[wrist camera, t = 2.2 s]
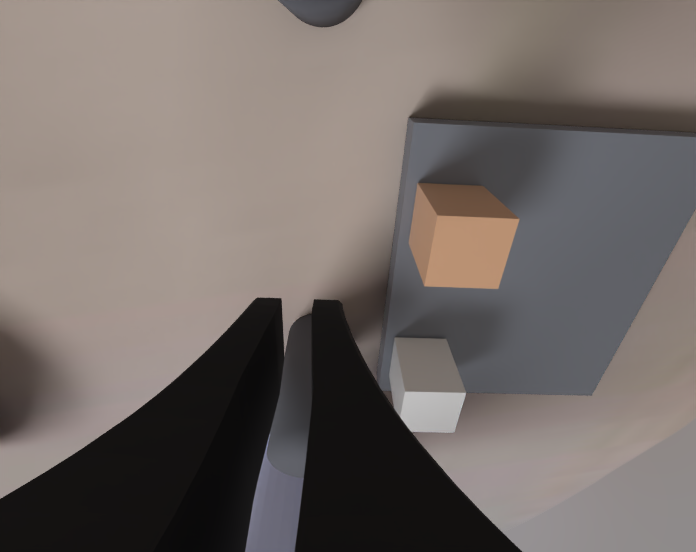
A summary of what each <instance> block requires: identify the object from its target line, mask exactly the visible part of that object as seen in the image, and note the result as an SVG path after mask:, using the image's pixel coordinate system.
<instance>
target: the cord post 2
mask: <svg viewBox="0 0 696 552" xmlns="http://www.w3.org/2000/svg"><path fill="white" fill-rule="evenodd" d="M278 1H280V2H281V3H282V4H283V5H284V6H285V7H286V8H287V9H288V10H289V11H290V12H292V13H293V14H294V15H295V16H296V17H297V18H298V19H300V20H301V21H303V22H305V23H307V24H309V25H312V26H316V27H330V26H334V25H337V24H339V23H341V22H343V21H345V20H346V19H347V18H349V17H350V16H351V15H352V14H353V13H354V11H355V10H356V9H357V8H358V6H359V4H360V3H361V1H362V0H278Z"/></svg>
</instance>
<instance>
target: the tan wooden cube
mask: <svg viewBox="0 0 696 552" xmlns="http://www.w3.org/2000/svg"><path fill="white" fill-rule="evenodd" d="M518 223H519V218H518V217H517V216H516V215H515V214H514V213H512V212H511V211H510V210H509V209H508V208H507V207H506V206H505V205H504V204H503V203H501V202H500V201H499V200H498V199H497V198H496V197H495V196H494V195H493V194H491V193H490V192H489V191H488V190H487V189H486V188H485V187H484V186H476V185H454V184H432V183H417V190H416V196H415V203H414V210H413V217H412V223H411V230H410V237H409V245H410V248H411V251H412V254H413V256H414V259H415V262H416V265H417V267H418V270H419V273H420V276H421V278H422V281H423V284H424V286H427V287H456V288H486V289H498V288H499V285H500V281H501V278H502V275H503V272H504V268H505V265H506V262H507V259H508V255H509V252H510V249H511V246H512V242H513V239H514V236H515V232H516V229H517V226H518Z"/></svg>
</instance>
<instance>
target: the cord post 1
mask: <svg viewBox="0 0 696 552" xmlns="http://www.w3.org/2000/svg"><path fill="white" fill-rule="evenodd" d="M311 315H312V314H310V315H306V316H303V317H301V318H299V319H298V320H297V321H295V322H294V323H293V325H292V326H291V328H290V331H289V336H288V341H287V346H286V352H285V357H284V366H283V374H282V381H281V388H280V395H279V399H278V403H277V407H276V411H275V415H274V419H273V423H272V427H271V431H270V436H269V441H268V447H267V458H268V460H269V462H270V463H271V464H272V466H273V467H275V468H276V469H277V470H279V471H280V472H282V473H284V474H287V475H290V476H293V477H298V478H304V471H305V463H306V453H307V444H308V435H309V426H310V417H311V407H312V397H311Z"/></svg>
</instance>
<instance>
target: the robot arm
mask: <svg viewBox="0 0 696 552" xmlns="http://www.w3.org/2000/svg"><path fill="white" fill-rule="evenodd" d="M283 366H284V340H283V320H282V300H281V298H256V299H255V300H254V301H253V302H252V303H251V304H250V305H249V306H248V308H247V309H246V310H245V311H244V312H243V313H242V314H241V315H240V317H239V318H238V319H237V320H236V321H235V322H234V323H233V324H232V325H231V326H230V327H229V328H228V330H227V331H226V332H225V333H224V334H223V335H222V336H221V337H220V338H219V339H218V340H217V341H216V342H215V343H214V344H213V345H212V346H211V347H210V348H209V349H208V350H207V351H206V352H205V353H204V354H203V355H202V356H201V357H200V358H198V359H197V360H196V361H195V362H194V363H193V364H192V365H191V366H190V367H189V368H187V369H186V370H185V371H184V372H183V373H182V374H181V375H180V376H179V377H178V378H176V379H175V380H174V381H173V382H172V383H171V384H169V385H168V386H167V387H166V388H165V389H164V390H162V391H161V392H160V393H159V394H157V395H156V396H155V397H154V398H152V399H151V400H150V401H149V402H147V403H146V404H145V405H143V406H142V407H141V408H140V409H138V410H137V411H136V412H134V413H133V414H132V415H130V416H129V417H128V418H126V419H125V420H123V421H122V422H120V423H119V424H117V425H116V426H114V427H113V428H112V429H110V430H109V431H107V432H106V433H104V434H103V435H101V436H100V437H98V438H97V439H96V440H94V441H93V442H91V443H90V444H88V445H87V446H85V447H84V448H82V449H81V450H79V451H78V452H76V453H75V454H73V455H72V456H70V457H69V458H67V459H65V460H64V461H62V462H61V463H59V464H57V465H56V466H54V467H53V468H51V469H49V470H48V471H46V472H45V473H43V474H41V475H40V476H38V477H36V478H35V479H33V480H31V481H30V482H28V483H26V484H25V485H23V486H21V487H20V488H18V489H16V490H15V491H13V492H11V493H10V494H8V495H6V496H4V497H3V498H1V499H0V552H522V551H521V550H520V549H519V548H518V547H517V546H515V544H514V543H512V542H511V541H510V540H509V539H508V538H507V537H506V536H505V535H504V534H503V533H502V532H501V531H500V530H499V529H498V528H497V527H496V526H495V525H494V524H493V523H492V522H491V521H490V520H489V519H488V518H487V517H486V516H485V515H484V514H483V513H482V512H481V511H480V510H479V509H478V508H477V506H476V505H475V504H474V503H473V502H472V501H471V500H470V499H469V498H468V497H467V496H466V495H465V494H464V493H463V492H462V491H461V490H460V489H459V488H458V486H457V485H456V484H455V483H454V482H453V481H452V480H451V479H450V477H449V476H448V475H447V474H446V473H445V472H444V470H443V469H442V468H441V467H440V466H439V465H438V464H437V462H436V461H435V460H434V459H433V458H432V457H431V455H430V454H429V453H428V452H427V451H426V450H425V448H424V447H423V446H422V445H421V444H420V443H419V441H418V440H417V439H416V437H415V436H414V435H413V434H412V432H411V431H410V430H409V428H408V427H407V426H406V424H405V423H404V422H403V420H402V419H401V418H400V416H399V415H398V413H397V412H396V411H395V409H394V408H393V406H392V405H391V403H390V402H389V400H388V399H387V397H386V396H385V394H384V393H383V391H382V390H381V388H380V387H379V385H378V383H377V382H376V380H375V378H374V376H373V375H372V373H371V371H370V370H369V368H368V366H367V364H366V362H365V361H364V359H363V357H362V355H361V353H360V351H359V349H358V347H357V345H356V343H355V340H354V338H353V336H352V334H351V331H350V329H349V326H348V324H347V321H346V318H345V315H344V311H343V306H342V304H341V303H340V302H339V301H338V300H315V299H314V303H313V309H312V315H311V397H312V407H311V417H310V426H309V435H308V444H307V453H306V463H305V471H304V478H298V477H293V476H290V475H287V474H284V473H282V472H280V471H279V470H277V469H276V468H275V467H273V466H272V464H271V463H270V462H269V460H268V458H267V447H268V441H269V436H270V431H271V427H272V423H273V419H274V415H275V411H276V407H277V403H278V399H279V395H280V388H281V381H282V374H283Z"/></svg>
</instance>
